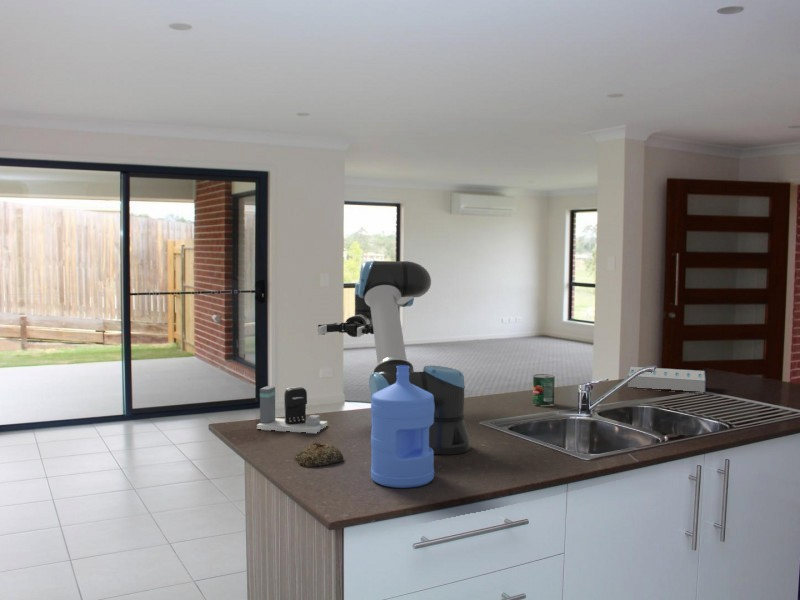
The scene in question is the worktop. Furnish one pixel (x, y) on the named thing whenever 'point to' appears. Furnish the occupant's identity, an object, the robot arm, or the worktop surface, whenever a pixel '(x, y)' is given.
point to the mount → (279, 424)
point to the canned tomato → (543, 389)
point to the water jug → (402, 434)
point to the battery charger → (295, 405)
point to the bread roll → (318, 455)
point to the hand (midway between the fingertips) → (338, 331)
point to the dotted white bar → (669, 379)
